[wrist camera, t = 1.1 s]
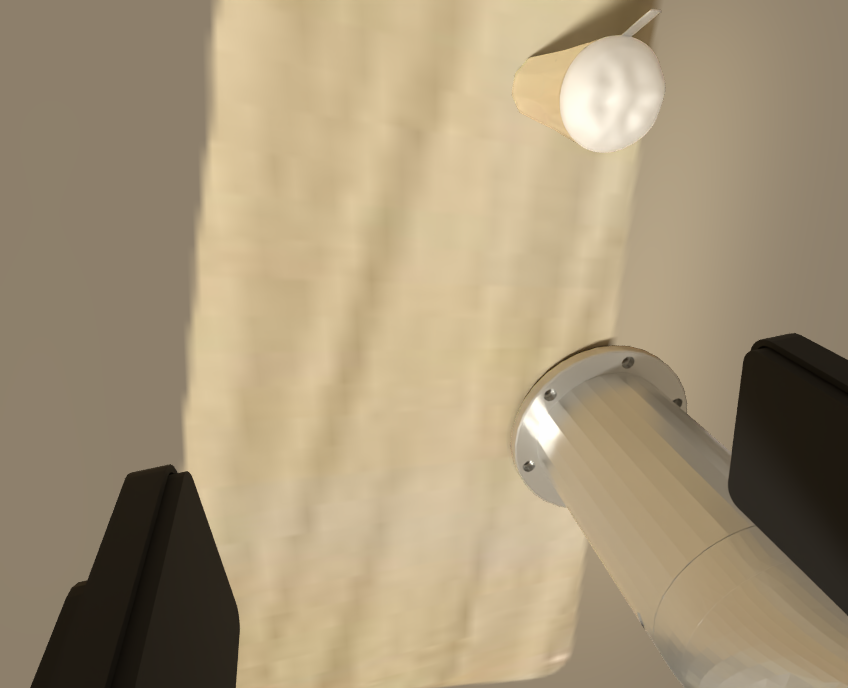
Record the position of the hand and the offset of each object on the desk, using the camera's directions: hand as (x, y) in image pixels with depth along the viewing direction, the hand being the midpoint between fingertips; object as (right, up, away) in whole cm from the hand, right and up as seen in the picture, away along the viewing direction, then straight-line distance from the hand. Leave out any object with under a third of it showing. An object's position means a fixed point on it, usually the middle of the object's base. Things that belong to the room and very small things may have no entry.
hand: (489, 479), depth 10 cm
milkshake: (+5, +16, +23) cm, 29 cm away
